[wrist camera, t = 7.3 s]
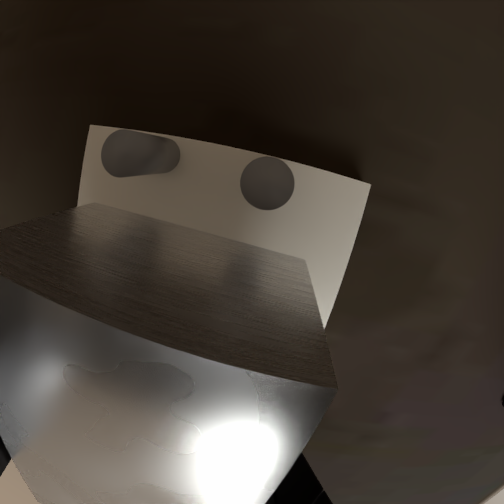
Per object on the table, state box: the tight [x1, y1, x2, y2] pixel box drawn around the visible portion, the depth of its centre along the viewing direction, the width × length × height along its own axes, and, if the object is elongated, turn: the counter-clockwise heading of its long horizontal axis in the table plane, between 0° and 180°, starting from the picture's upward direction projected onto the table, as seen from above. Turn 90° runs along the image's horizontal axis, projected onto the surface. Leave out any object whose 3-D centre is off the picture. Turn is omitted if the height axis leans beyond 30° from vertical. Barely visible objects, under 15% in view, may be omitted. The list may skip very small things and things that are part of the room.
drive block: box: [0, 202, 338, 504], centre depth 7 cm, size 6×9×5 cm, turn 165°
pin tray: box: [77, 125, 371, 328], centre depth 10 cm, size 10×14×4 cm
